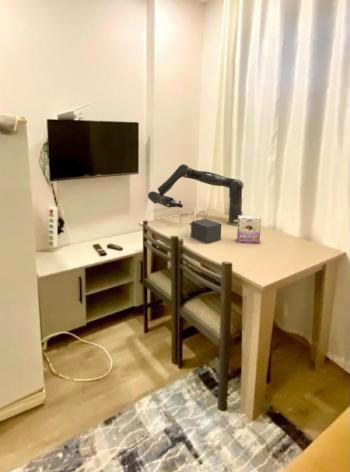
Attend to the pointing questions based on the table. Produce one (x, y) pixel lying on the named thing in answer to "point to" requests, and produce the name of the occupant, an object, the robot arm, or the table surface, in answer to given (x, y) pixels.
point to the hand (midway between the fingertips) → (181, 206)
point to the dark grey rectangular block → (206, 230)
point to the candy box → (248, 229)
